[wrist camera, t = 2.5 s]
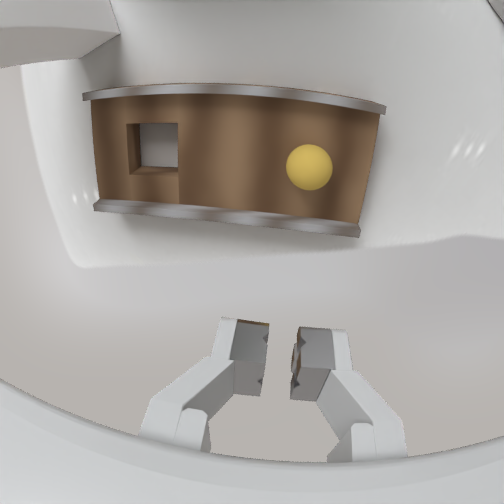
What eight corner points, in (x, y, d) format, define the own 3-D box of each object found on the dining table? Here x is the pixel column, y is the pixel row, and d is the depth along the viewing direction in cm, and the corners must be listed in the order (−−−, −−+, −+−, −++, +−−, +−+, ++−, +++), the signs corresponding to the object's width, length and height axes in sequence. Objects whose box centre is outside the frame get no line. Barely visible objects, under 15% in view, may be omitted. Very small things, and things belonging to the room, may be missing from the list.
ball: (332, 143, 26) (339, 154, 23) (325, 183, 28) (331, 200, 25) (288, 137, 26) (288, 147, 23) (284, 178, 28) (283, 194, 25)
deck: (372, 101, 26) (386, 106, 22) (351, 217, 33) (358, 238, 29) (105, 88, 27) (82, 93, 24) (112, 195, 34) (94, 210, 31)
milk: (108, -7, 21) (-57, -31, 2) (121, 34, 24) (-57, 34, 5) (67, 21, 22) (-94, 32, 4) (79, 60, 25) (-90, 95, 7)
